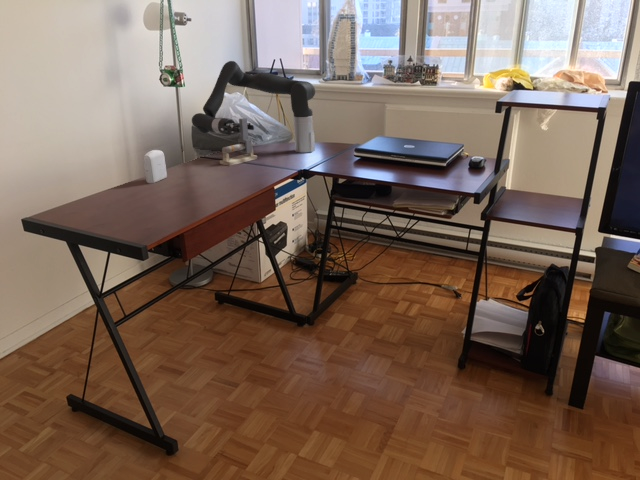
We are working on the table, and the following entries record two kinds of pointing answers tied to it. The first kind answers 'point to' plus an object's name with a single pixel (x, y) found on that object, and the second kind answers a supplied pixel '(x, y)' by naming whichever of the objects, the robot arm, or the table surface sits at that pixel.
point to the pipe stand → (236, 159)
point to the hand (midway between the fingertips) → (246, 128)
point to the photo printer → (154, 166)
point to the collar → (244, 136)
